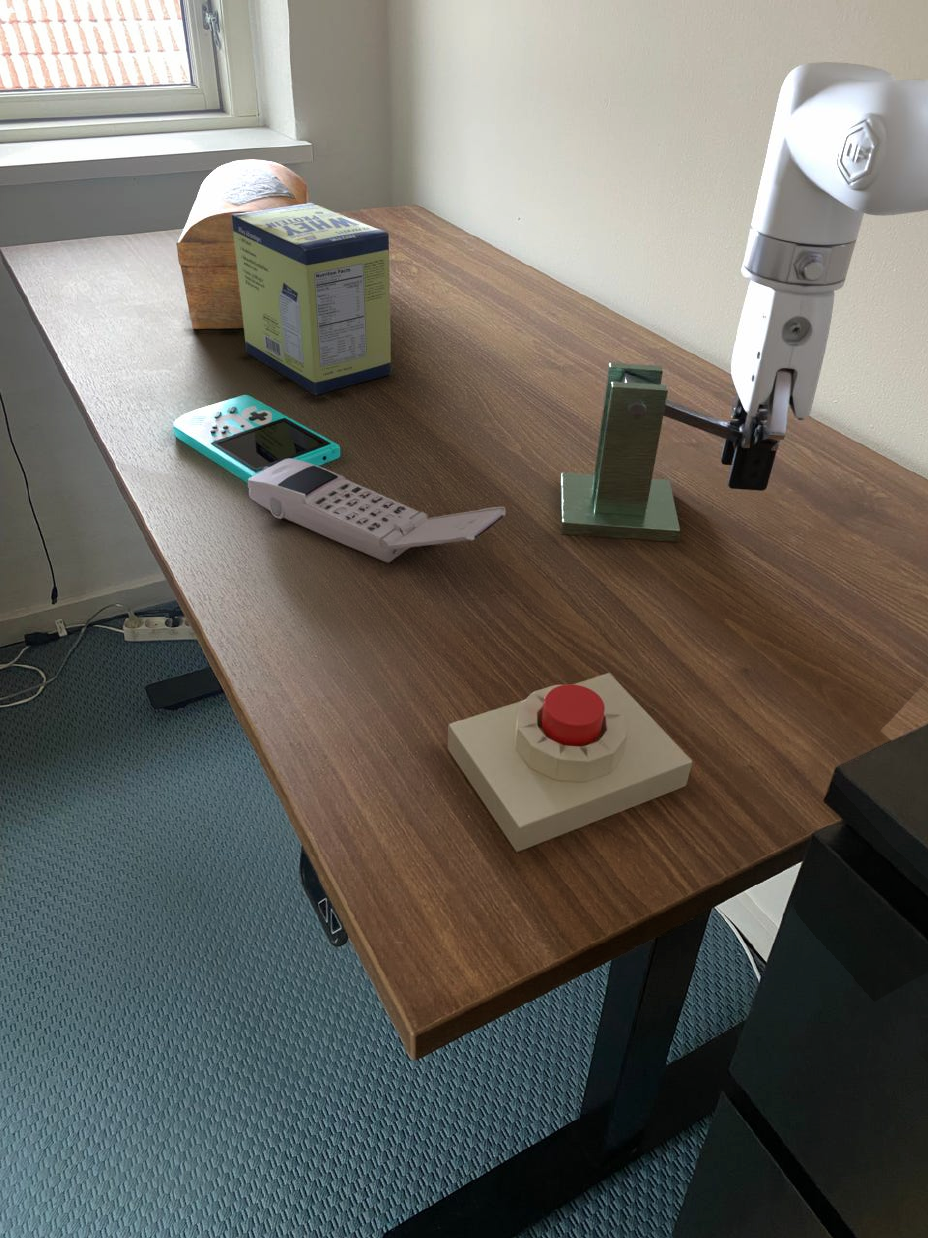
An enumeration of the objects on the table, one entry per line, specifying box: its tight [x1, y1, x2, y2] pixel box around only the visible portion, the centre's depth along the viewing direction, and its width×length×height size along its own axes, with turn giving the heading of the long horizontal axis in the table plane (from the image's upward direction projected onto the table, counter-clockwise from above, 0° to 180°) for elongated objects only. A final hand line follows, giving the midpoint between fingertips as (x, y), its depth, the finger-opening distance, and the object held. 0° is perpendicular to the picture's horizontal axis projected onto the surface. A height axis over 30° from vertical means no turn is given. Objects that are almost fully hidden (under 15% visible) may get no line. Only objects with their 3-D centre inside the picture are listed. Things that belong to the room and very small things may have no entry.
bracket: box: [559, 362, 681, 543], centre depth 79 cm, size 10×9×13 cm
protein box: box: [231, 202, 392, 396], centre depth 103 cm, size 10×16×16 cm
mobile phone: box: [247, 458, 506, 564], centre depth 76 cm, size 6×6×25 cm
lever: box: [620, 373, 766, 450], centre depth 77 cm, size 14×3×3 cm, turn 86°
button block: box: [447, 672, 693, 853], centre depth 57 cm, size 12×9×4 cm
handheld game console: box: [172, 394, 341, 484], centre depth 91 cm, size 10×16×1 cm, turn 45°
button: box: [541, 684, 605, 746], centre depth 55 cm, size 4×4×2 cm
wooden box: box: [176, 159, 310, 330], centre depth 123 cm, size 30×16×14 cm, turn 7°
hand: (742, 474), depth 80 cm, fingers closed on lever, 3 cm apart
